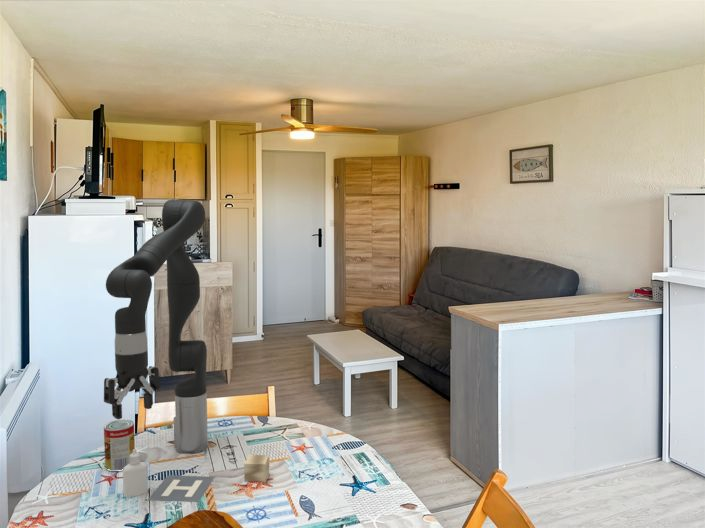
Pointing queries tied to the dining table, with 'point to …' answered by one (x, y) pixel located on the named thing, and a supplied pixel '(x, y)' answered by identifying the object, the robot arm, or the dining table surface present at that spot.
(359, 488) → the dining table surface
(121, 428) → the canned food
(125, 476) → the eye dropper bottle
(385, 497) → the dining table surface
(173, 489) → the letter board
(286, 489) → the dining table surface
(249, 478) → the maple block
